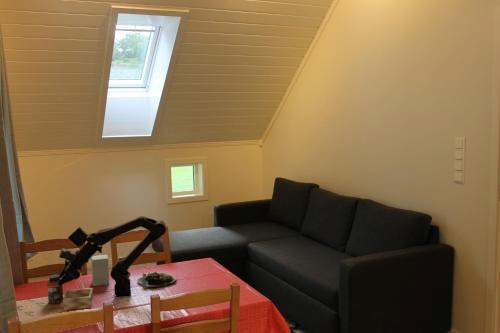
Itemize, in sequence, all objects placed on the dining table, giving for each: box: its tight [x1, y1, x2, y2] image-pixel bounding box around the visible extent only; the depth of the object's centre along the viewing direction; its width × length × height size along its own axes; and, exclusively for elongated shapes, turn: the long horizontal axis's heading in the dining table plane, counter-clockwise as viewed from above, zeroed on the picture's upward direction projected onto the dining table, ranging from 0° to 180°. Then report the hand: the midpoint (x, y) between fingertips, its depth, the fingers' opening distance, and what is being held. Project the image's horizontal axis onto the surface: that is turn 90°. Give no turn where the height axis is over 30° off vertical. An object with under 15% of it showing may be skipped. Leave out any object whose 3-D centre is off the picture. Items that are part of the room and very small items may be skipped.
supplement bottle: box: [47, 274, 64, 305], centre depth 200 cm, size 6×6×11 cm
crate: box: [62, 287, 94, 311], centre depth 198 cm, size 11×11×4 cm
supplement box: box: [90, 254, 110, 287], centre depth 222 cm, size 7×7×13 cm
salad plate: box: [136, 271, 177, 290], centre depth 224 cm, size 19×18×5 cm
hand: (58, 281), depth 200 cm, fingers open, 9 cm apart
